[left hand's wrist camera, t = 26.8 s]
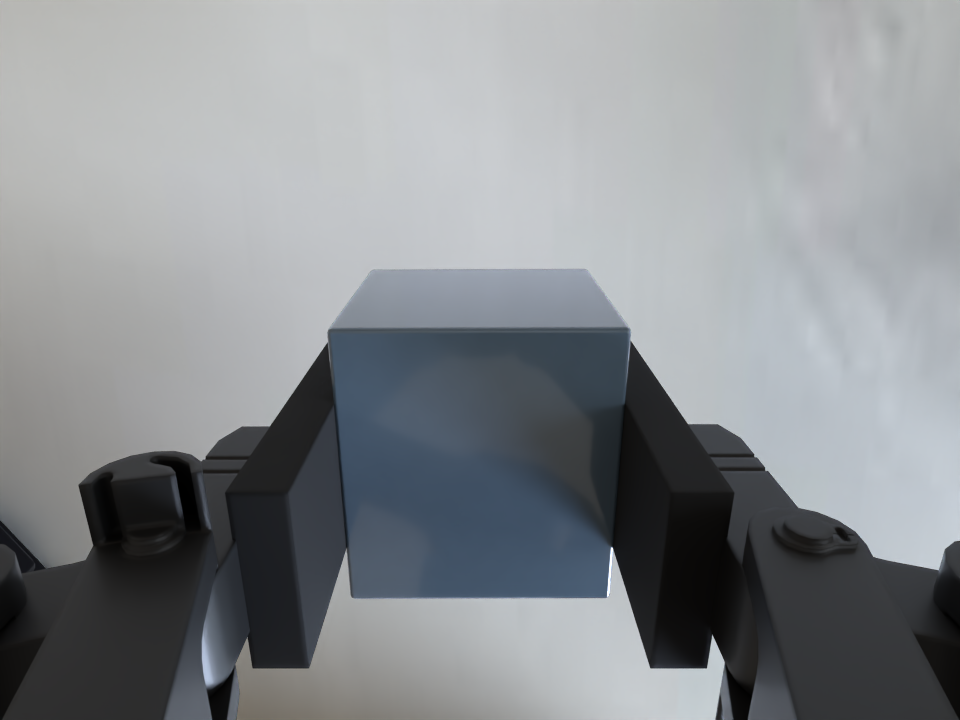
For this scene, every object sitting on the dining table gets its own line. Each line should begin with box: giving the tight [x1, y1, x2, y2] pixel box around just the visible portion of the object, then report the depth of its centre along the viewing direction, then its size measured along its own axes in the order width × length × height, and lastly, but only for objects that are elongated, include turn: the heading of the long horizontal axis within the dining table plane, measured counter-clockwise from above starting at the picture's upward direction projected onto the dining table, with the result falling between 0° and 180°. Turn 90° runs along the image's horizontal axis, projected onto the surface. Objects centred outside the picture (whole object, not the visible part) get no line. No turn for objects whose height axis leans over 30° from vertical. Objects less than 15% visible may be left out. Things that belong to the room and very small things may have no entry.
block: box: [327, 269, 631, 599], centre depth 12 cm, size 5×5×4 cm
